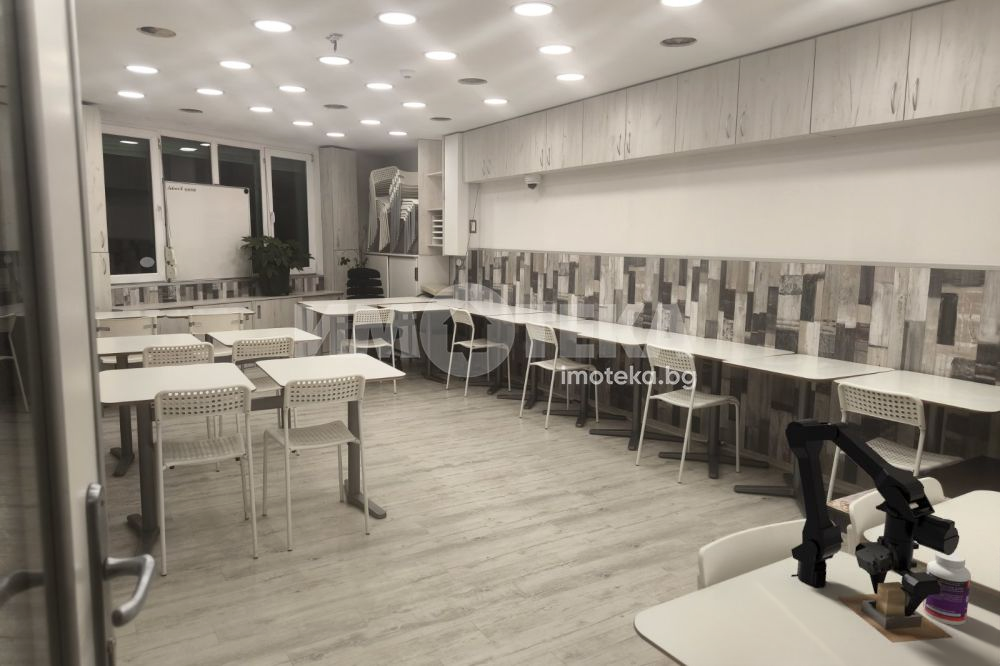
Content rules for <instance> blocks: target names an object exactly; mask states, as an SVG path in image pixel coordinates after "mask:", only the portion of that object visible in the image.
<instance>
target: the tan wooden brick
mask: <svg viewBox="0 0 1000 666" xmlns="http://www.w3.org/2000/svg"><path fill="white" fill-rule="evenodd" d="M900 587H903V585H902V583H901V582H900V581H891V582H889V581H888V582H884V583H878V591H877V601H876V609H877V610H878V611H880V612H881V613H882V614H884V615H885V616H886V617H893V616H905V611H904V608H905V593H904V592H903V591H902V590H901V588H900Z"/></svg>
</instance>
